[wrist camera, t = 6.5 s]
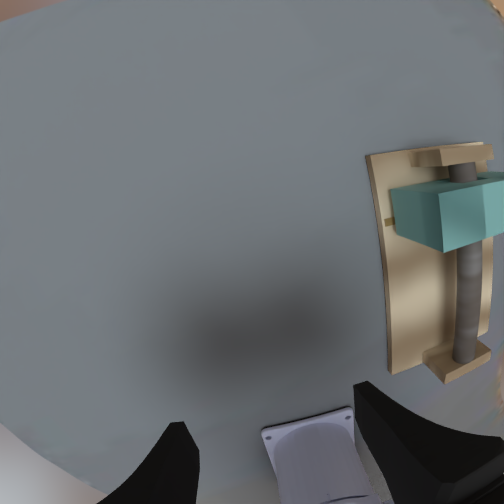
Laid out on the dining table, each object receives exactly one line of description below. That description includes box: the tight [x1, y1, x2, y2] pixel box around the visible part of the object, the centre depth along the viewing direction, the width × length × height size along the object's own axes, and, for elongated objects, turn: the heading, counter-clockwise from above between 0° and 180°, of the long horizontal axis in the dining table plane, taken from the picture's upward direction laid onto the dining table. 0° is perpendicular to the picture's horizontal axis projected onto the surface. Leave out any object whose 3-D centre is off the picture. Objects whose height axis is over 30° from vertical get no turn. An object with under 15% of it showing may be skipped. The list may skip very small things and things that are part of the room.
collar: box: [390, 172, 504, 253], centre depth 16 cm, size 3×10×5 cm, turn 103°
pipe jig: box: [365, 142, 494, 384], centre depth 18 cm, size 17×11×5 cm, turn 13°
